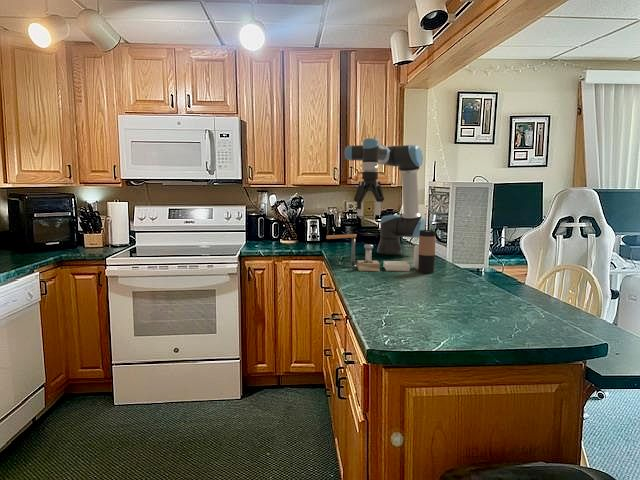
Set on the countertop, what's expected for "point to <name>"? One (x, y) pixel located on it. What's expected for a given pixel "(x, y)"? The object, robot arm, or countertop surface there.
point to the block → (368, 265)
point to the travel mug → (426, 251)
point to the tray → (396, 266)
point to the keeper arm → (340, 236)
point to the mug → (416, 256)
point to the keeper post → (353, 254)
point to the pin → (368, 253)
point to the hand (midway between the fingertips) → (369, 215)
